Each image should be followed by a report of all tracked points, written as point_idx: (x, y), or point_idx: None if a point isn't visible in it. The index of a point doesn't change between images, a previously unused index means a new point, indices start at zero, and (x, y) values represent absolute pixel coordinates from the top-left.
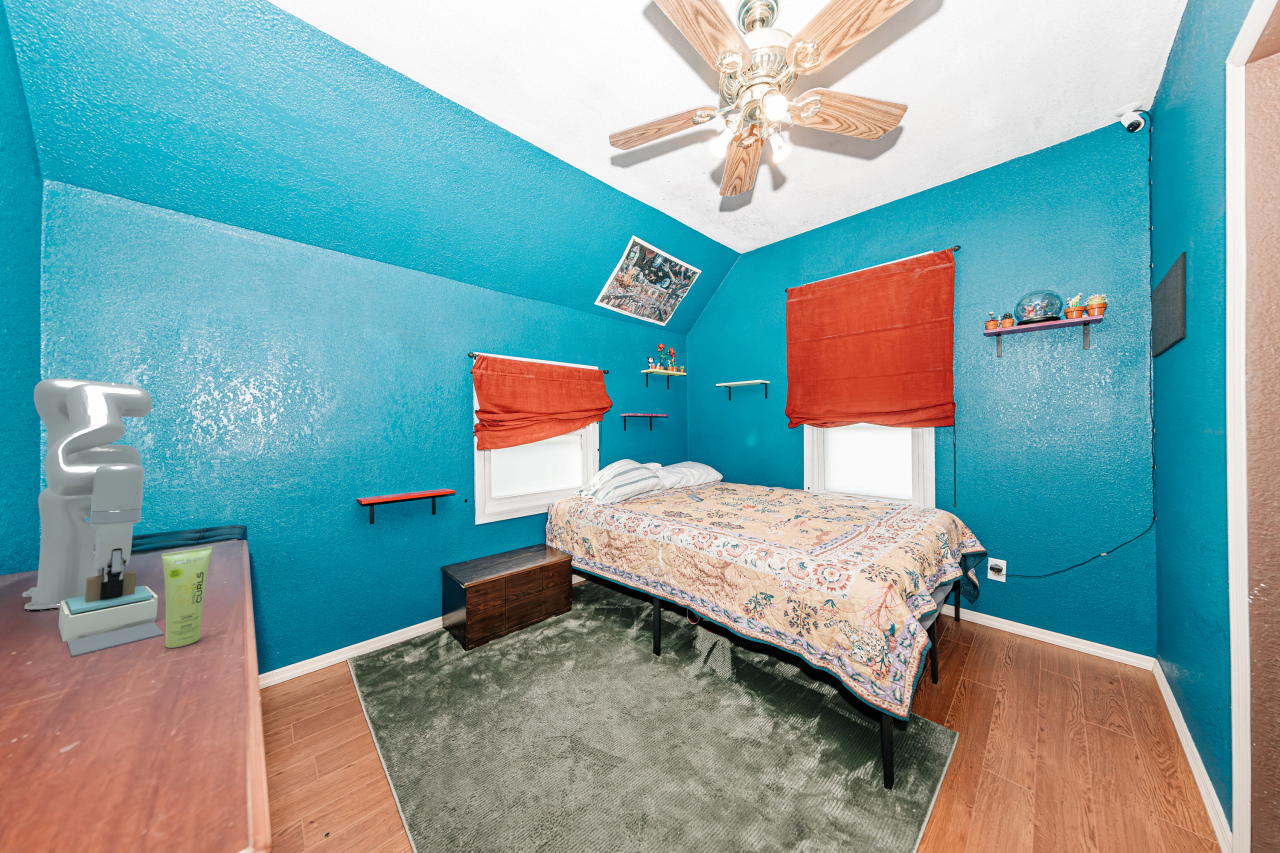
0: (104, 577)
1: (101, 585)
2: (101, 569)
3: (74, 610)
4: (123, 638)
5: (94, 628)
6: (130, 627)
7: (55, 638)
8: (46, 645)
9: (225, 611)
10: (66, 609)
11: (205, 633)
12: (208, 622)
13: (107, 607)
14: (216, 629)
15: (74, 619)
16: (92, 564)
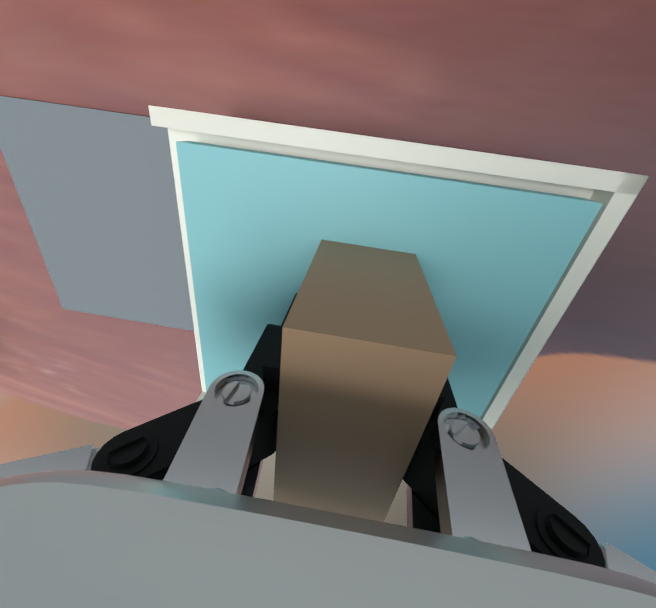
0: (201, 410)
1: (273, 350)
2: (496, 510)
3: (179, 156)
4: (89, 241)
5: None
6: None
7: (329, 110)
8: (241, 63)
9: None
10: (290, 139)
11: (11, 350)
12: (112, 385)
13: None
14: (31, 370)
15: None
16: (493, 598)
